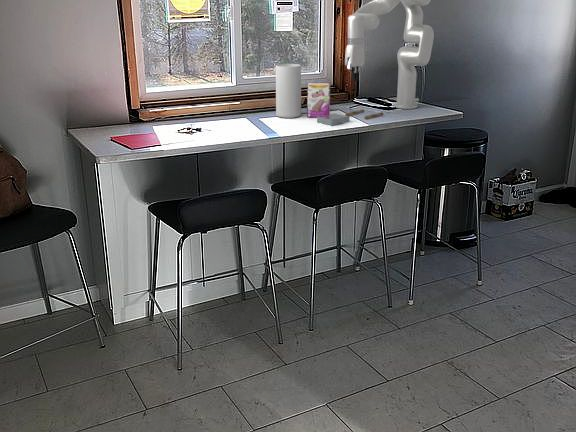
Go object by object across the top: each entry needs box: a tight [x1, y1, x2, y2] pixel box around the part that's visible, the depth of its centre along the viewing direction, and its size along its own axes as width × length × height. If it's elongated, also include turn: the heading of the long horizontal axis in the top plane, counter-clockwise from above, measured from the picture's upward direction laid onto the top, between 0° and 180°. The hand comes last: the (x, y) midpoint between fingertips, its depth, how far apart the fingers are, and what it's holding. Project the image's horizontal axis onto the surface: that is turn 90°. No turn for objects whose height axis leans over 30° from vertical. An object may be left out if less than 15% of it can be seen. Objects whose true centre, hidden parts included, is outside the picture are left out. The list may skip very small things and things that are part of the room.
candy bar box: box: [306, 82, 331, 119], centre depth 313 cm, size 11×5×16 cm, turn 84°
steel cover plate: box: [316, 113, 350, 127], centre depth 304 cm, size 12×10×3 cm
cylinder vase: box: [275, 63, 302, 119], centre depth 315 cm, size 12×12×25 cm
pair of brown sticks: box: [345, 109, 384, 120], centre depth 318 cm, size 14×13×2 cm
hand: (355, 80), depth 307 cm, fingers closed
